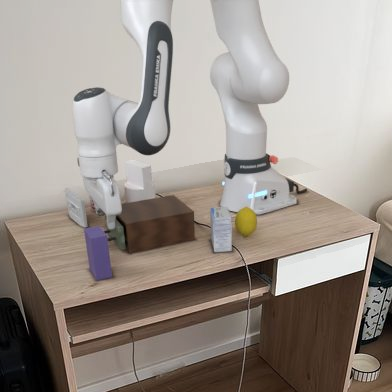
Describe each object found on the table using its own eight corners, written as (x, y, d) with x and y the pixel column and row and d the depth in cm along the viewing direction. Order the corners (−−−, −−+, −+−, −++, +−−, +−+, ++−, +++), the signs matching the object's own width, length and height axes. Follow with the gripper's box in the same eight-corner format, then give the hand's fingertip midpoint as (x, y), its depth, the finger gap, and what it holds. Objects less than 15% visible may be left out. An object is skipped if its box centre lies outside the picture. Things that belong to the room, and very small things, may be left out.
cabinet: (129, 253, 132) (126, 223, 128) (113, 233, 143) (109, 205, 138) (195, 240, 138) (194, 211, 134) (174, 222, 148) (173, 194, 144)
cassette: (89, 227, 147) (85, 199, 142) (83, 228, 146) (79, 200, 142) (73, 213, 155) (68, 187, 151) (67, 215, 154) (62, 188, 150)
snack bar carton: (104, 266, 127) (99, 225, 121) (112, 277, 122) (107, 235, 116) (89, 269, 125) (83, 228, 120) (96, 280, 121) (90, 238, 115)
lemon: (255, 241, 136) (256, 211, 131) (233, 240, 137) (233, 210, 132) (257, 233, 141) (258, 203, 136) (235, 232, 141) (236, 202, 137)
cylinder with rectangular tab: (162, 204, 159) (160, 163, 153) (137, 212, 155) (133, 170, 148) (144, 197, 165) (141, 157, 158) (120, 204, 160) (115, 163, 154)
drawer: (104, 253, 130) (101, 231, 127) (90, 235, 140) (87, 213, 136) (183, 238, 137) (182, 216, 134) (165, 221, 146) (164, 200, 143)
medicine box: (231, 251, 132) (232, 217, 127) (213, 253, 131) (213, 218, 126) (227, 239, 138) (228, 205, 133) (210, 239, 138) (210, 206, 133)
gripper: (125, 175, 120) (131, 233, 128) (99, 153, 136) (106, 206, 143) (97, 179, 118) (105, 238, 126) (75, 156, 134) (83, 210, 141)
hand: (105, 221), depth 135 cm, fingers open, 8 cm apart
